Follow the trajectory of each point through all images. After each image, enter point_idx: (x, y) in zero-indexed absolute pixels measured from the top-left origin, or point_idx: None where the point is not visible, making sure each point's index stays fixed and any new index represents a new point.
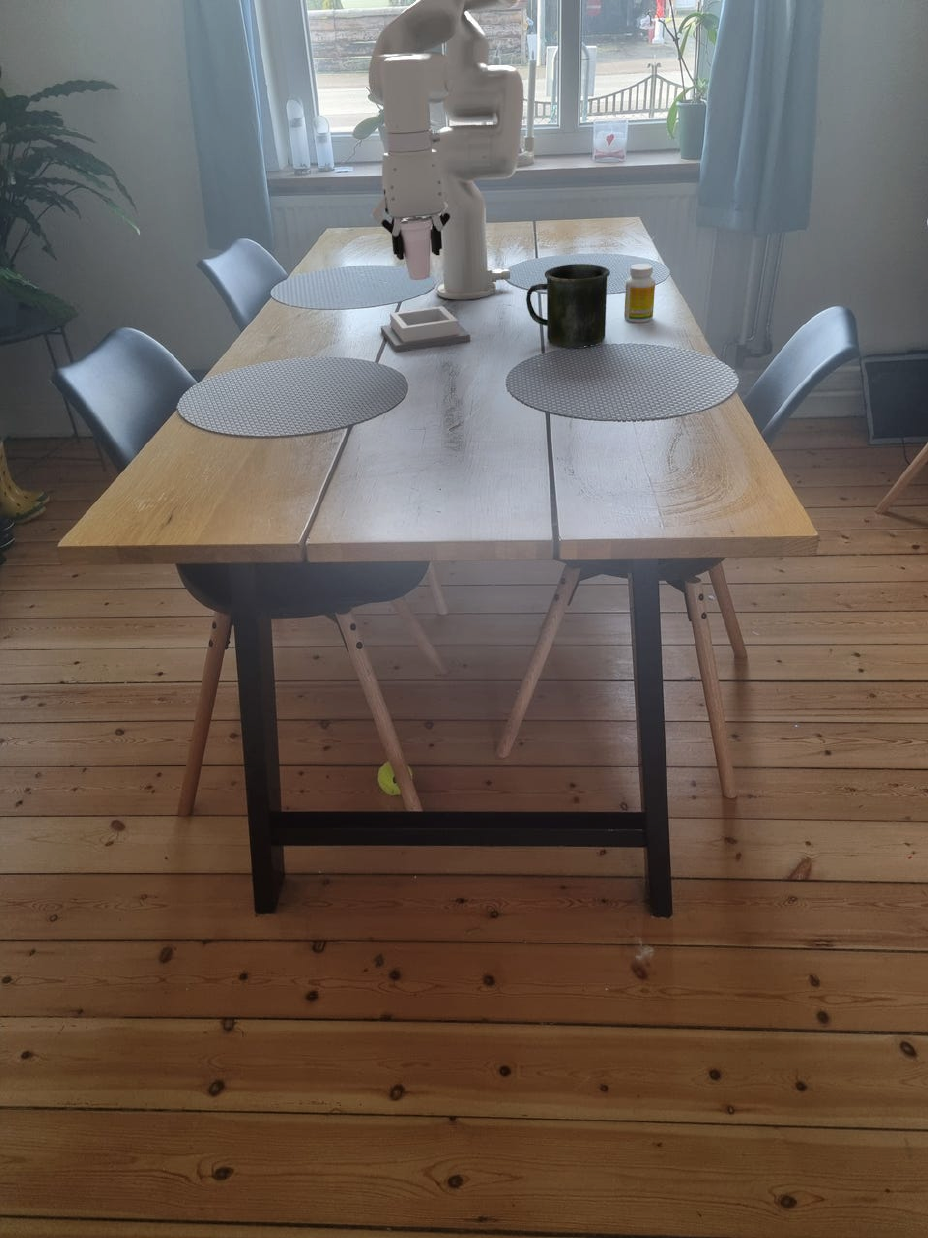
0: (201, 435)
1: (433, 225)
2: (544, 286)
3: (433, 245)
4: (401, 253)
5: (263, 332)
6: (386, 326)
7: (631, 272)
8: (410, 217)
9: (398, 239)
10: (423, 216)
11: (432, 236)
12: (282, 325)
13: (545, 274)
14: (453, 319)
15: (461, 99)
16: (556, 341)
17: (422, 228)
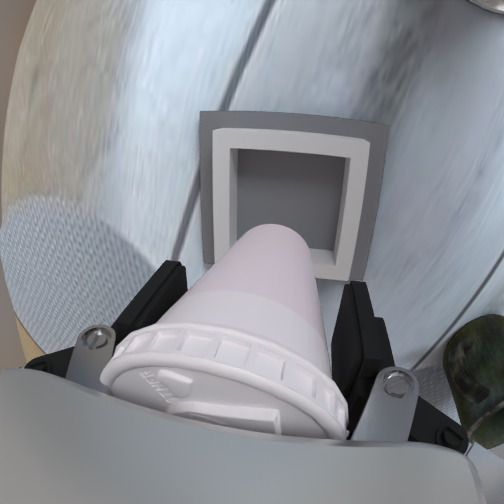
0: (39, 351)
1: (361, 408)
2: (474, 402)
3: (338, 343)
4: None
5: (30, 44)
6: (212, 121)
7: None
8: (207, 372)
9: None
10: (319, 421)
11: (341, 369)
12: (56, 9)
13: (478, 423)
14: (343, 269)
15: None
16: (443, 364)
17: None
